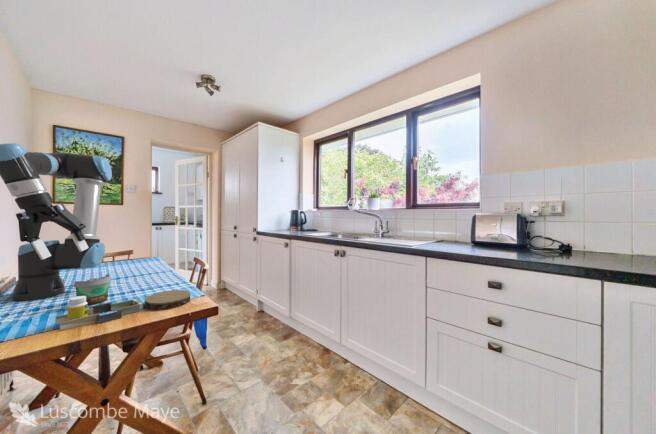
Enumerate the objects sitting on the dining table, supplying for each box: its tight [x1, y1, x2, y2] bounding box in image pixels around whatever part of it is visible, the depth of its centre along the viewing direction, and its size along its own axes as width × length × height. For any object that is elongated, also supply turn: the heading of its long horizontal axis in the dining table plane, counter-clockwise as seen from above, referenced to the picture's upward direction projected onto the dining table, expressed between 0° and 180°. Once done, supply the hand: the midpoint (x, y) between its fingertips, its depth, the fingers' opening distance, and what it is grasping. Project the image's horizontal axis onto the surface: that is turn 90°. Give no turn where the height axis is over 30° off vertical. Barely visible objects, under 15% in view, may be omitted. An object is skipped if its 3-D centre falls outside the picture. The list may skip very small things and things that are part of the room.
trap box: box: [55, 298, 144, 332], centre depth 88 cm, size 13×22×2 cm, turn 144°
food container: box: [72, 274, 112, 307], centre depth 101 cm, size 12×6×10 cm, turn 168°
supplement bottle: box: [67, 295, 89, 321], centre depth 83 cm, size 5×5×8 cm
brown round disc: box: [144, 289, 191, 311], centre depth 103 cm, size 16×16×3 cm
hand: (65, 253), depth 85 cm, fingers open, 13 cm apart
